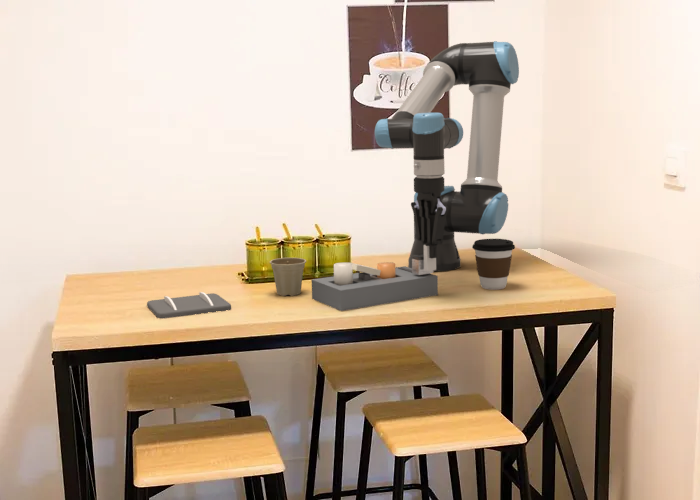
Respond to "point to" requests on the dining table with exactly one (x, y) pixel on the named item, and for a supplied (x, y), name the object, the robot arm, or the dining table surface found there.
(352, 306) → the console
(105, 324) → the dining table surface
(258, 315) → the dining table surface
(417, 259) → the fader
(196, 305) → the grey flat slab
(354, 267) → the rocker
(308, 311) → the dining table surface
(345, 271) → the button white
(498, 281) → the coffee cup
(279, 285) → the flower pot
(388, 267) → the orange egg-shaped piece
